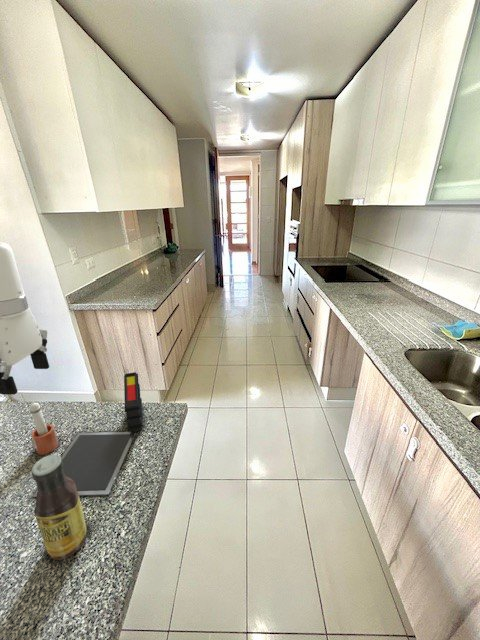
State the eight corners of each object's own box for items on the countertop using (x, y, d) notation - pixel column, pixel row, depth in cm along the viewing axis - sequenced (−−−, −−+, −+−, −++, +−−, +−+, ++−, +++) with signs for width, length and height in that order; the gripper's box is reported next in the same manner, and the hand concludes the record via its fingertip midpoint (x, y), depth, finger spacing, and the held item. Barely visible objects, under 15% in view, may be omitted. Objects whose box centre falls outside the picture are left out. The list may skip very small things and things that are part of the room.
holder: (33, 456, 66) (26, 438, 64) (45, 442, 70) (39, 424, 68) (51, 455, 66) (45, 437, 64) (62, 441, 71) (57, 424, 68)
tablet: (33, 499, 56) (32, 495, 56) (78, 435, 73) (78, 432, 72) (108, 497, 57) (108, 493, 56) (136, 434, 73) (136, 431, 73)
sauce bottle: (40, 563, 46) (6, 482, 39) (63, 524, 51) (36, 448, 44) (78, 563, 46) (50, 482, 39) (96, 524, 51) (75, 448, 44)
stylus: (41, 450, 67) (26, 406, 62) (46, 444, 69) (32, 401, 64) (49, 450, 67) (34, 406, 62) (54, 444, 69) (40, 400, 64)
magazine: (141, 397, 86) (137, 370, 76) (144, 436, 77) (139, 411, 67) (129, 399, 85) (123, 373, 75) (131, 439, 76) (124, 415, 66)
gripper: (18, 294, 59) (37, 360, 65) (-63, 321, 43) (-28, 405, 49) (51, 295, 59) (67, 360, 66) (-17, 322, 43) (13, 406, 49)
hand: (26, 380), depth 57 cm, fingers open, 9 cm apart
